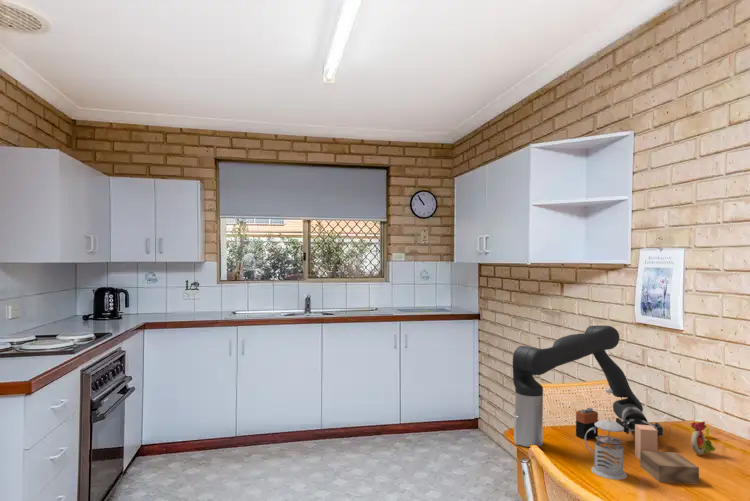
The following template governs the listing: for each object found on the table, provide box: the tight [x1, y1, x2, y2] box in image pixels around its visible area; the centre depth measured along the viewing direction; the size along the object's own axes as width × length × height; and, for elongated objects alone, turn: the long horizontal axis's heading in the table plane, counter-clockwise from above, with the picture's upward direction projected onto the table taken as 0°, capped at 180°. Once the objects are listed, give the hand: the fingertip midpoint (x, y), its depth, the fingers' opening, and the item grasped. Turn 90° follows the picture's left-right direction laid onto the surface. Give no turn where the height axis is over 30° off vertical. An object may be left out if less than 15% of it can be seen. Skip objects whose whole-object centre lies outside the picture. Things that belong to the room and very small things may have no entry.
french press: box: [584, 387, 628, 481], centre depth 144 cm, size 10×12×25 cm
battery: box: [575, 407, 599, 440], centre depth 174 cm, size 4×7×10 cm, turn 115°
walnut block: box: [639, 451, 700, 485], centre depth 143 cm, size 11×11×5 cm
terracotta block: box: [634, 424, 658, 461], centre depth 155 cm, size 5×5×10 cm
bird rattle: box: [690, 421, 716, 456], centre depth 160 cm, size 6×11×9 cm
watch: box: [689, 419, 710, 438], centre depth 177 cm, size 6×3×6 cm, turn 25°
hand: (642, 433), depth 161 cm, fingers open, 8 cm apart
